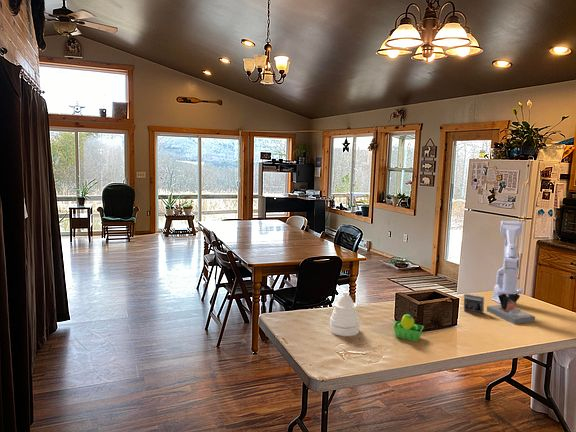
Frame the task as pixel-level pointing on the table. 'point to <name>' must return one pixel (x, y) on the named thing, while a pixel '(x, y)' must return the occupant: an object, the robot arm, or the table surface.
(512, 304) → the plug
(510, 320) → the socket plate
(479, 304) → the electrical switch
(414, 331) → the fruit basket
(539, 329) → the table surface
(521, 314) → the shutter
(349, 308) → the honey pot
